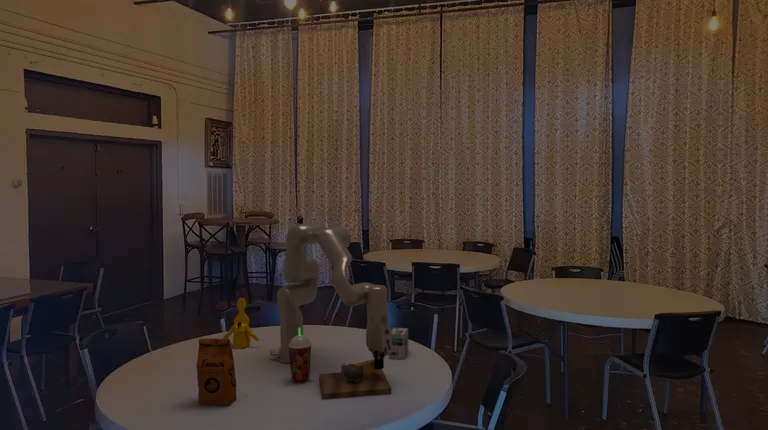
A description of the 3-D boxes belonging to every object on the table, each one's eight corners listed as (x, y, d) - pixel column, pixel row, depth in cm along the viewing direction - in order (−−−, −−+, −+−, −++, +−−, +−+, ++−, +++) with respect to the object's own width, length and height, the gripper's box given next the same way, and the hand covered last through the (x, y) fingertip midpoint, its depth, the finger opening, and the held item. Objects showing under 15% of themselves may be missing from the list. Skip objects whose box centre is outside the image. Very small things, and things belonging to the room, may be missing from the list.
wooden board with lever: (322, 399, 187) (321, 385, 187) (319, 378, 207) (319, 365, 207) (391, 393, 191) (391, 379, 190) (381, 373, 211) (381, 361, 211)
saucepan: (350, 380, 194) (350, 370, 193) (340, 374, 199) (340, 364, 199) (386, 370, 203) (385, 361, 203) (375, 365, 208) (374, 356, 208)
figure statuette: (219, 349, 247) (217, 301, 245) (224, 344, 254) (223, 297, 253) (258, 349, 246) (257, 300, 245) (262, 344, 254) (261, 297, 253)
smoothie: (315, 377, 208) (314, 326, 207) (305, 385, 200) (304, 331, 199) (296, 375, 211) (294, 324, 210) (285, 383, 203) (283, 329, 202)
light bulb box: (404, 359, 228) (404, 334, 227) (389, 359, 229) (388, 333, 229) (408, 352, 238) (408, 327, 238) (393, 351, 240) (393, 327, 239)
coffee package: (229, 408, 180) (227, 342, 179) (193, 407, 182) (191, 341, 181) (241, 397, 190) (239, 334, 189) (207, 395, 192) (205, 333, 191)
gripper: (399, 320, 197) (400, 370, 198) (372, 314, 209) (373, 362, 209) (383, 324, 192) (384, 375, 193) (356, 317, 204) (358, 366, 204)
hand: (379, 368), depth 201 cm, fingers closed
